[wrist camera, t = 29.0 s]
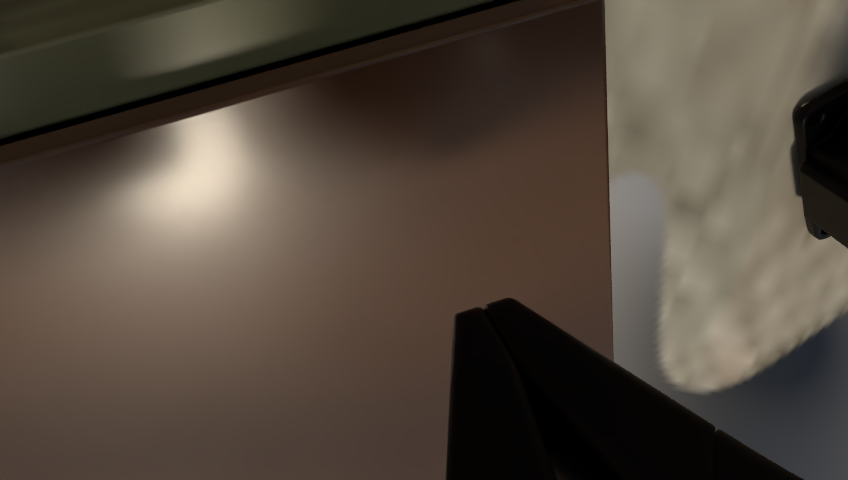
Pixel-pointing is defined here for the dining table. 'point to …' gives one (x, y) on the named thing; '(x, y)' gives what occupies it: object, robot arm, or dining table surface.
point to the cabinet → (301, 254)
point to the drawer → (169, 48)
